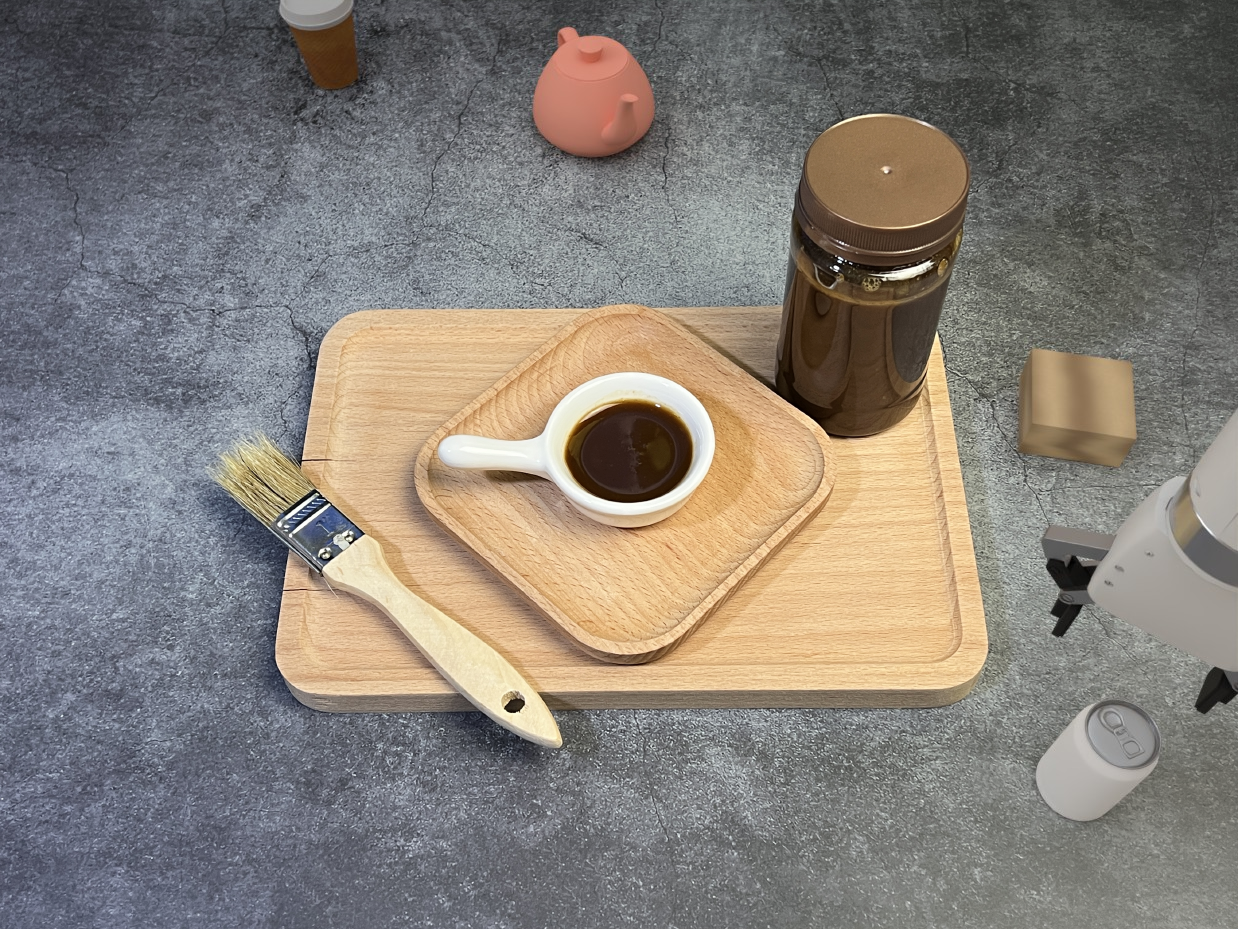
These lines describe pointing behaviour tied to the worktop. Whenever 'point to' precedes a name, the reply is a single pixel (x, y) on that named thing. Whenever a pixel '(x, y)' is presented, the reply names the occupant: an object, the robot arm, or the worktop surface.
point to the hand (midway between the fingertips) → (1133, 656)
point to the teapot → (592, 97)
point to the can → (1098, 759)
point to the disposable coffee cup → (324, 39)
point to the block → (1076, 407)
